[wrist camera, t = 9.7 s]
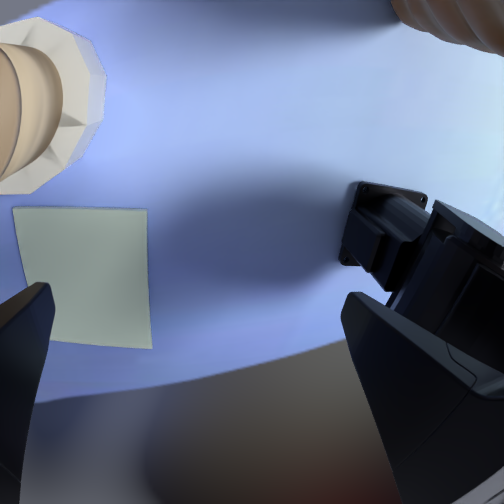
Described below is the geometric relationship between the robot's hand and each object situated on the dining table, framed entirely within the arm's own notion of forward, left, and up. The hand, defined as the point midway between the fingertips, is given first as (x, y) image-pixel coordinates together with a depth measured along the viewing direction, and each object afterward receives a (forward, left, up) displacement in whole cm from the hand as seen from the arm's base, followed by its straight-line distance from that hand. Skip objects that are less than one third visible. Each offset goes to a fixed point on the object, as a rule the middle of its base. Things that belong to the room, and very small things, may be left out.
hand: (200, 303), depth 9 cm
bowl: (+11, -5, -12) cm, 17 cm away
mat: (+8, +8, -12) cm, 16 cm away
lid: (+11, -5, -9) cm, 15 cm away
